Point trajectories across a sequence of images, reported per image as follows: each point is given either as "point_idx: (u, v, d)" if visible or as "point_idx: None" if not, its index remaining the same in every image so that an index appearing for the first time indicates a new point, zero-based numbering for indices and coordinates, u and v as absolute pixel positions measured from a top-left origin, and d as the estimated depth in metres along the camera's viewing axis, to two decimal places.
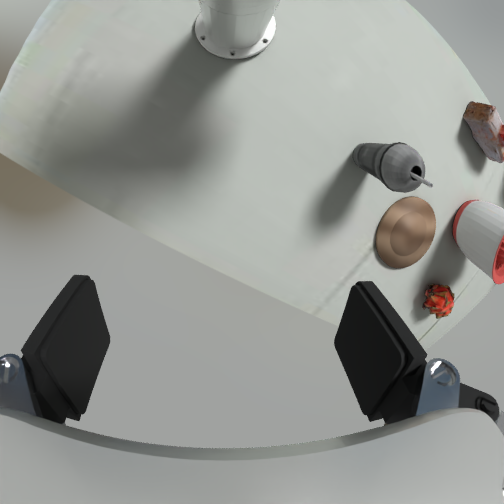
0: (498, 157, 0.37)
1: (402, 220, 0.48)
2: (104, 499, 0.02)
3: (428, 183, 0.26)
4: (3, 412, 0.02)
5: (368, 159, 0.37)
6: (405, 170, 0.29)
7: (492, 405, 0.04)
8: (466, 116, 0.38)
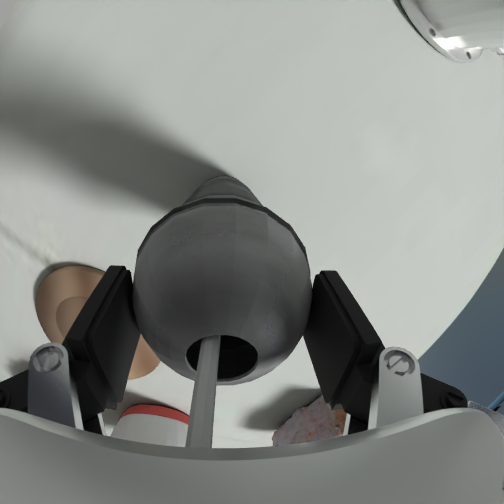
0: None
1: None
2: (104, 499, 0.02)
3: None
4: (3, 412, 0.02)
5: (222, 188, 0.14)
6: (223, 309, 0.07)
7: (459, 400, 0.05)
8: None
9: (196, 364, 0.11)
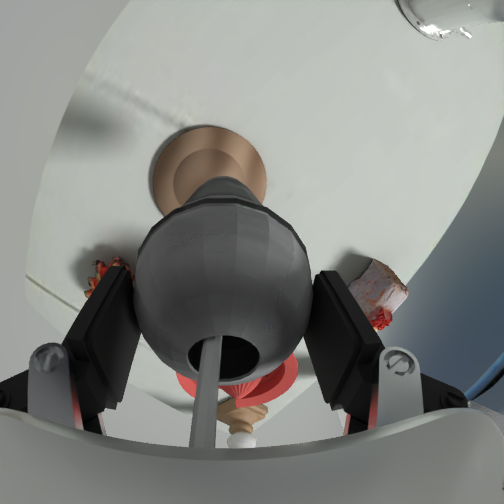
0: None
1: (231, 164, 0.36)
2: (104, 499, 0.02)
3: None
4: (3, 412, 0.02)
5: (222, 188, 0.14)
6: (225, 309, 0.07)
7: (459, 400, 0.05)
8: (377, 262, 0.45)
9: (197, 364, 0.11)
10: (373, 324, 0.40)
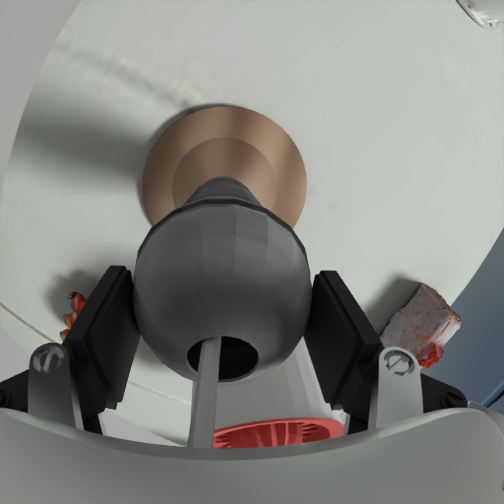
0: None
1: (257, 161, 0.24)
2: (104, 499, 0.02)
3: None
4: (3, 412, 0.02)
5: (222, 188, 0.14)
6: (223, 310, 0.07)
7: (459, 400, 0.05)
8: (426, 287, 0.34)
9: (196, 365, 0.11)
10: (423, 363, 0.29)
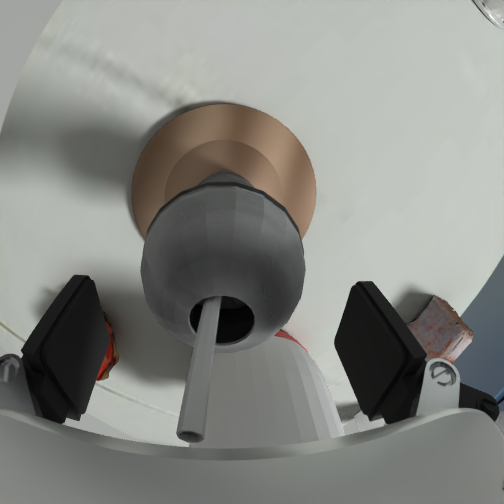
0: None
1: (261, 167, 0.22)
2: (104, 499, 0.02)
3: (195, 415, 0.04)
4: (3, 412, 0.02)
5: (224, 178, 0.15)
6: (223, 272, 0.08)
7: (492, 405, 0.04)
8: (438, 300, 0.31)
9: None
10: None
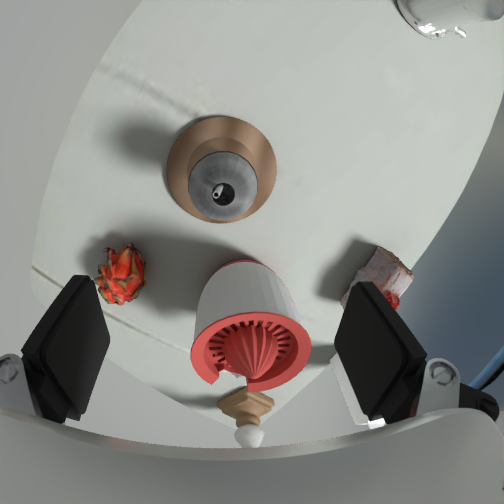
0: None
1: (243, 152, 0.37)
2: (104, 499, 0.02)
3: (217, 191, 0.20)
4: (3, 412, 0.02)
5: None
6: (224, 175, 0.23)
7: (492, 405, 0.04)
8: (382, 249, 0.46)
9: (211, 217, 0.27)
10: None
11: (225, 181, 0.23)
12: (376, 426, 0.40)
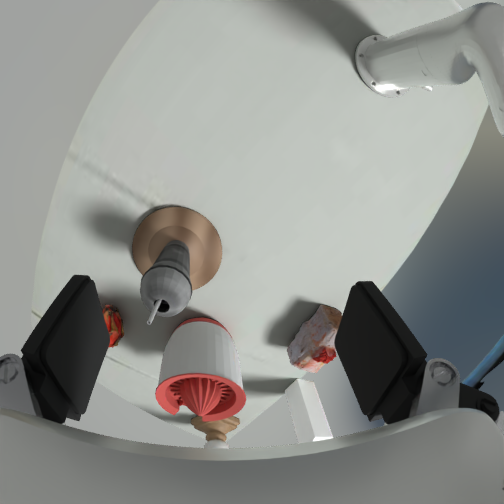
0: (296, 356, 0.53)
1: (192, 238, 0.45)
2: (104, 499, 0.02)
3: (150, 319, 0.28)
4: (3, 412, 0.02)
5: (169, 254, 0.38)
6: (160, 293, 0.32)
7: (492, 405, 0.04)
8: (324, 307, 0.55)
9: None
10: (318, 360, 0.50)
11: (161, 298, 0.32)
12: None
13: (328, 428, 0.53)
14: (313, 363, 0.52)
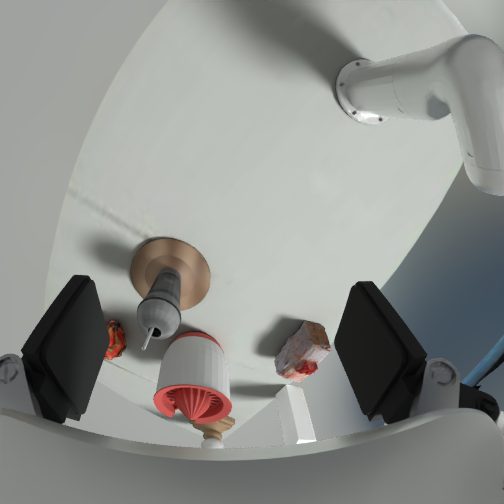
0: (281, 368, 0.58)
1: (183, 265, 0.50)
2: (104, 499, 0.02)
3: (144, 346, 0.33)
4: (3, 412, 0.02)
5: (161, 284, 0.43)
6: (153, 322, 0.37)
7: (492, 405, 0.04)
8: (307, 324, 0.59)
9: (153, 335, 0.40)
10: (300, 372, 0.55)
11: (154, 326, 0.37)
12: None
13: (312, 432, 0.58)
14: (296, 374, 0.57)
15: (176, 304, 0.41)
